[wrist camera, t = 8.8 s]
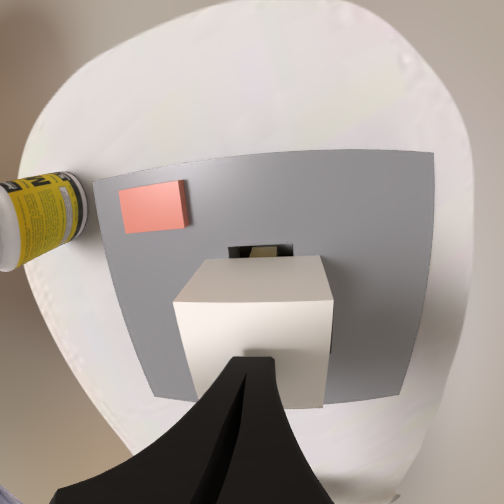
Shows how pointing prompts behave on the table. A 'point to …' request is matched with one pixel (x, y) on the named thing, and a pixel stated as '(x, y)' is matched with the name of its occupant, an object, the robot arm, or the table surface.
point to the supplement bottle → (39, 216)
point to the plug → (260, 321)
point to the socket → (278, 232)
